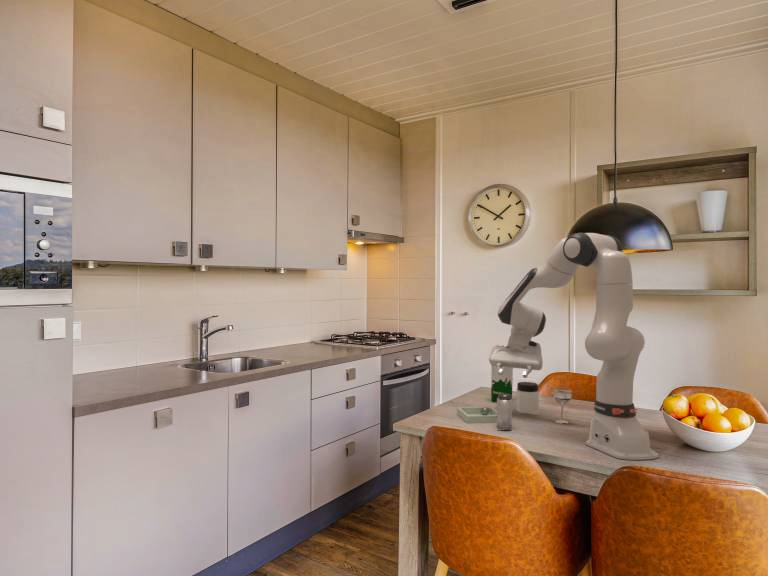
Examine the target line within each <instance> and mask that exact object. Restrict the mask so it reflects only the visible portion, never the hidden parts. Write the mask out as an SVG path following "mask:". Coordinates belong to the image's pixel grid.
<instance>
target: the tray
mask: <svg viewBox="0 0 768 576" xmlns="http://www.w3.org/2000/svg"><path fill="white" fill-rule="evenodd" d="M484 407H486V408H488V410H489V413H488V414H487V415H483V414H482V413H481V409H482V408H484ZM456 415H458V417H460V418H461V419H462V420H463V421H464V422H465V423H466V424H497V409H495V408H494V407H492V406H463V407H462V406H461V407H460V406H458V407H456Z"/></svg>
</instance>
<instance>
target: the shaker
mask: <svg viewBox="0 0 768 576" xmlns="http://www.w3.org/2000/svg"><path fill="white" fill-rule="evenodd" d="M496 411H497V423H496V428H497V429H498V431H500V432H512V431H513V430H512V428H513V398H512V399H511V395H510V394H504V393H502V394H499V395H498V398H497V402H496Z"/></svg>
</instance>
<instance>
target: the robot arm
mask: <svg viewBox="0 0 768 576" xmlns="http://www.w3.org/2000/svg"><path fill="white" fill-rule="evenodd" d="M623 249H624V247H623V244H622V242H621V240H619V239H618V238H617V237H615V236H612V235H610V234H600V233H597V232H596V233H595V232H577V233H573V234H570V235H568V236H567V237H564V238H561V240H559V241H558V243H557V244H556V246H554V248H553V249H552V251H550V254H549V255H548V257H547V258H546V261H545V262H544V263H543V264H541V265H540V266H537V267H534V268H532V269H530V270H529V271H528V272H527V273H526V275H525V276H523V278H522V279H521V281H520V282H519V283H518V284H517V286H516V287H515V288H514V289H513V291H512V292H511V293H510V294H509V296H508V297H506V299H504V301H503V302H502V303H501V305H500V306H499V307H498V310H497V316H498V318H499V320H500V322H501V323H502V324H505V325H509V326H511V329H510V335H509V338H508V341H507V345H500V344H497V345H494V346H491V347H492V348H491V350H490V355H489V357H488V362H489V364H490V365H492V366H497V367H498V375H503V369H500V368H501V367H511V368H513V369H523V370H526V371H523V372H522V378H525V379H526V378H528V376H529V374H531V373H532V371H541V370H542V369H543V356H542V347H541V344H540V343H539V342H536V341H534V340H532V338H535V337H536V336H539V335H540V334H541V333H542V332H543V331H544V329H545V327H546V322H547V317H546V315H545V313H544V312H543V311H542V310H540V309H537V308H535V307H532V306H529V305H527V304H524V303H522V302H521V301H522V299H523V298H524V297H525V296H526V295H527V293H529V291H530V290H532V289H537V288H538V289H539V288H549V289H558V288H562V287H564V286H566V285H568V284H569V283H570V282H571V280H572V279H573V277H574V275H575V274H576V272H577V270H578V268H579V267H580V266H582V267H586V268H587V267H590V266H591V267H592V269H594V271H595V282H596V283H595V287H596V289H595V290H596V291H595V292H596V294H595V295H596V297H595V301H596V303H595V304H596V305H595V312H594V317H593V322H592V326H591V329H590V332H589V333H588V334H587V336H586V338H585V340H584V347H585V351H586V353H587V354H588V355H589V356H590V357H591V358H593V359H594V360H598V361H602V365H601V368H600V370H599V372H598V373H597V375H596V385H595V386H596V389H595V391H596V392H595V393H596V394H595V396H596V397H595V399H594V403H593V405H594V408H593V409H594V415H593V417H592V418H591V421H590V427H589V436H588V439H587V440H586V441H585V445H587V446H589V447H591V448H593V449H596V450H597V451H600V452H602V453H605V454H606V455H609V456H611V457H614V458H616V459H619V460H631V461H637V460H638V461H639V460H641V461H643V460H645V461H646V460H654V459H658V458H659V457H660V456H659V453H658V452H657V451H655V450H654V449H652V448H651V443H650V433H649V431H647V430H645V428H644V427H643V425H642V424H641V423H640V421H639V420H638V418H637V413H638V408H637V409H636V407H635V403H634V402H633V401H634V400H633V398H634V393H633V392H634V378H635V373H636V369H637V365H638V361H639V358H640V355H641V352H642V351H643V349H644V348H645V341H646V340H645V337H644V335H643V334H642V332H641V331H640V330H639V329H637V328H635V327H632V326H628V325H627V324H628V321H629V316H630V315H631V312H632V311H633V309H634V308H633V307H634V294H633V293H634V287H633V286H634V285H633V272H632V266H631V262H630V258H629V255H628V254H627V253H625V252H623Z"/></svg>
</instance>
